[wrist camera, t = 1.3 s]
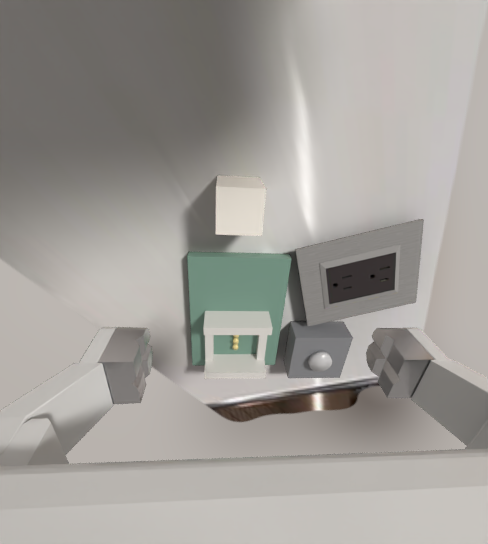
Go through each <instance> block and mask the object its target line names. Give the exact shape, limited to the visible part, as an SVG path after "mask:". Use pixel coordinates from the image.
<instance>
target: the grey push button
mask: <svg viewBox="0 0 488 544" xmlns="http://www.w3.org/2000/svg"><path fill="white" fill-rule="evenodd" d="M352 339H353V337H352V336H351V334H350V332H349V330H348V329H347V327H346V325H345V324H344V322H326V323H321V324H317V325H312V326H307V322H304V321H291V322H290V328H289V333H288V339H287V344H286V350H285V356H284V364H285V368H286V372H287V376H288V378H340V375H341V372H342V369H343V366H344V363H345V360H346V357H347V354H348V351H349V348H350V345H351V342H352Z"/></svg>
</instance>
